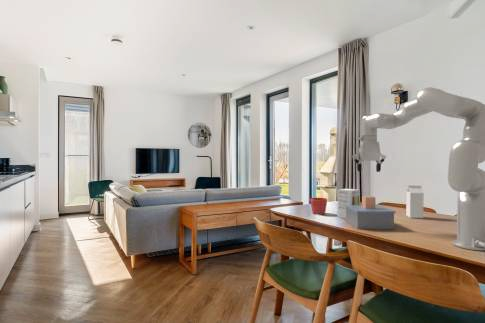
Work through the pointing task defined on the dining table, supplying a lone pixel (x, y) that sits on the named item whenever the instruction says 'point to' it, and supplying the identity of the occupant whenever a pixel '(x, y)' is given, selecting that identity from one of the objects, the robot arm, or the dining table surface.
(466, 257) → the dining table surface
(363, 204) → the lid
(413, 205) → the milk carton
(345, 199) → the supplement box
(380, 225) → the storage box
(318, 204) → the flower pot
